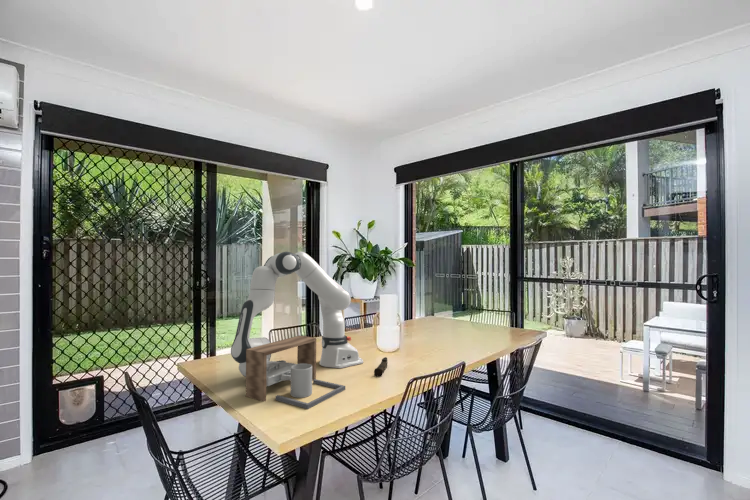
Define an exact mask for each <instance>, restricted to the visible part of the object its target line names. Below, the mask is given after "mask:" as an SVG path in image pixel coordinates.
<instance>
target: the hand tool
mask: <svg viewBox="0 0 750 500" xmlns="http://www.w3.org/2000/svg"><path fill="white" fill-rule="evenodd" d="M386 369H388V357H387V356H385V357H383V358H382V359H381V362H380V363H379V364H378V366H377V367H376V368H374V372H373V373H374V376H375V377H382V376H383V374H384V372H385V370H386Z"/></svg>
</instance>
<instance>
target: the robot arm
mask: <svg viewBox="0 0 750 500" xmlns="http://www.w3.org/2000/svg"><path fill="white" fill-rule="evenodd" d="M293 273H295V274H296V275H297V277H299V278H300V280H301V281H302V282H303V283H304V284H305V285H306V286H307V287H308V288H309V289H310V290H311V291H312V292H313V293H314V294H316V295H317V297H318V300H319V303H320V310H321V316H322V336H321V347H322V349H321V357H320V361H319V364H318V365H320V366H322V367H324V368H336V369H343V368H348V367H353V366H356V365H359V364H360V365H361V364H363V363H364V360H363V358H361V357H360V356H359V351H358V349H357V348H356V347H354V346H353V345H352V344H351V343H349V342H351V340H352V337H351V336H348V335H345V333H346V332H345V330H346V329H345V325H346V324H345V318H344V316H343V311H342V310H346V309H347V308H349V306H350V305H351V302H352V298H351V294H350V293H349V292H348V291H346V290H345V289H344V288H343V287H342V286H341V285H340V284H339V283H337V282H336V280H334V279H333V278H332V277H331V276H330V275H328V273H327V272H326V271H325V270H324V269H323V268H322V267H321V266H320V264H319V263H318V262H317V261H315V259H314V258H313V257H311V256H310V255H309V254H308V253H306V252H304V251H298V252H295V253H293V252H290V251H282V252H279V253H276V254H274V255H271V256H270V257H269V258H267V260H266V261H265V263H264V264H263V265H260V266H257V267H255V268H254V270H253V272H252V276H251V280H250V286H249V294H248V297H247V299H246V301H245V302H244V303H243V304H242V307H241V309H240V313H239V317H238V318H239V319H238V322H237V327H236V331H235V336H234V339H233V342H232V345H231V347H230V348H231V349H230V355H231V358H233V360H234V361H235V362H236V363H238V370H239V372H240V374H241V375H242V376H244V377H245V378H246V349H249V348H253V347H257V346H261V345H265V344H268V343H272V342H271V340H270V339H268V337H265V336H264V337H263V336H262V337H251V336H250V335H251V332H252V331H251V330H252V325H253V321H254V319H255V317H256V316H257V315H258V314H260V313H261V312H263V311H266V310H267V309H269V308H270V307H271V306H272V305H273V303H274V302H275V295H276V282H277V279H278V278H279V277H285V276H288V275H290V274H293ZM250 337H251V338H250ZM271 357H272V354H269V355H267V365H266V387H270V386H272V385H275V384H278V383H279V382H283V381H290V382H291V366H293V365H295V364H296V363H294V362H289V361H286V360H284V359H283V360H271Z"/></svg>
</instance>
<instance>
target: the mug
mask: <svg viewBox="0 0 750 500" xmlns="http://www.w3.org/2000/svg"><path fill="white" fill-rule="evenodd" d="M294 364H295V365H293V366H291V381H290V393H289V394H290V397H293V398H295V399H296V398H297V399H298V398H299V399H302V398H307V397H310V396H312V394H313V380H312V365H310V364H304V363H303V364H297V363H294Z"/></svg>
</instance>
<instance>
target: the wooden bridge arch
mask: <svg viewBox="0 0 750 500" xmlns="http://www.w3.org/2000/svg"><path fill="white" fill-rule="evenodd" d="M296 347H297V360H296V364H303V363H304V364H310V365H312V381H313V380H314V379H317V337H312V336H306V335H296V336H292V337H288V338H285V339H280V340H276V341H274V342H271V343H268V344H265V345H261V346H257V347H253V348H249V349H246V377H245V397H246V398H250V399H252V400H256V401H259V402H263V403H264V402H266V401H267V386H266V365H267V355H269V354H271V355H273V354H276V353H280V352H282V351H287V350H290V349H293V348H296Z"/></svg>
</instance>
